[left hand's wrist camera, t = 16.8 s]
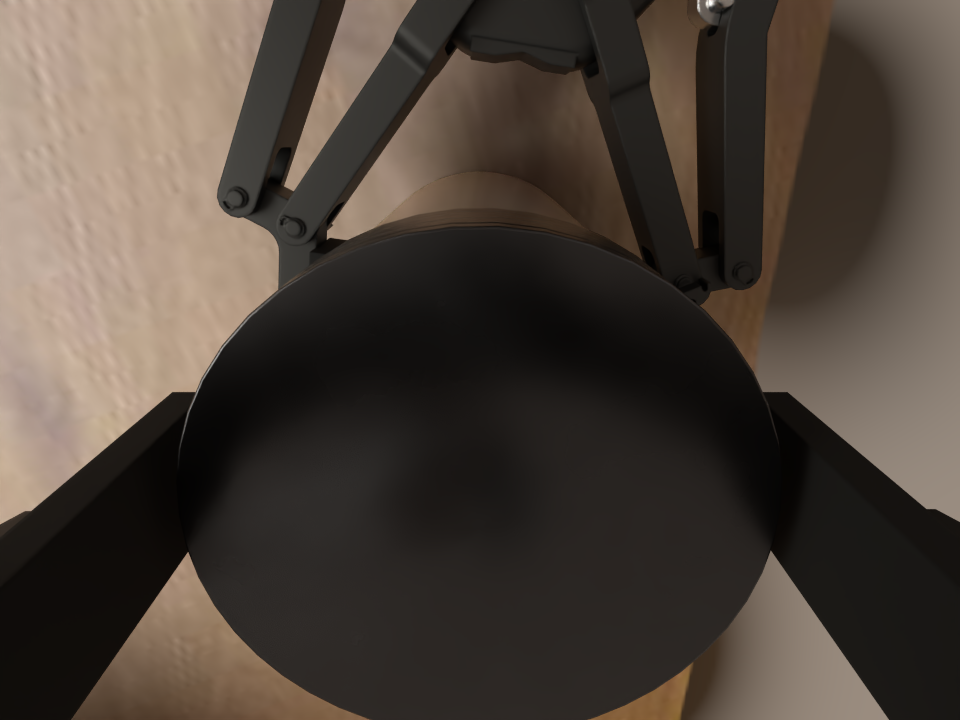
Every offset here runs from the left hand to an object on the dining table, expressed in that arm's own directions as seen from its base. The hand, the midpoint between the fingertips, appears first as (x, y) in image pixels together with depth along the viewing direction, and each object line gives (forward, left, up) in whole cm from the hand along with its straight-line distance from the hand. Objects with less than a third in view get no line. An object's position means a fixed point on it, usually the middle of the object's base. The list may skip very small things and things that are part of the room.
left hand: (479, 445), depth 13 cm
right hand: (-4, 0, -8) cm, 9 cm away
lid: (0, 0, +3) cm, 3 cm away
